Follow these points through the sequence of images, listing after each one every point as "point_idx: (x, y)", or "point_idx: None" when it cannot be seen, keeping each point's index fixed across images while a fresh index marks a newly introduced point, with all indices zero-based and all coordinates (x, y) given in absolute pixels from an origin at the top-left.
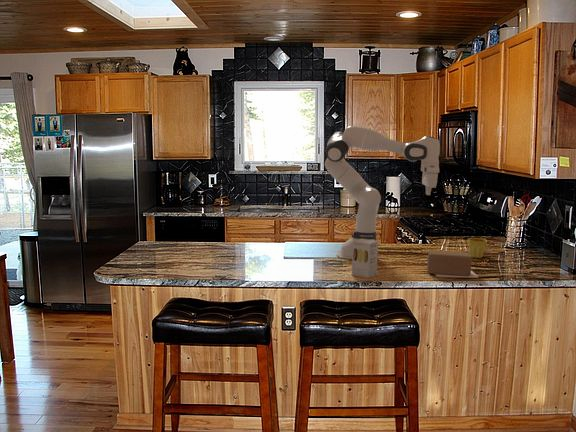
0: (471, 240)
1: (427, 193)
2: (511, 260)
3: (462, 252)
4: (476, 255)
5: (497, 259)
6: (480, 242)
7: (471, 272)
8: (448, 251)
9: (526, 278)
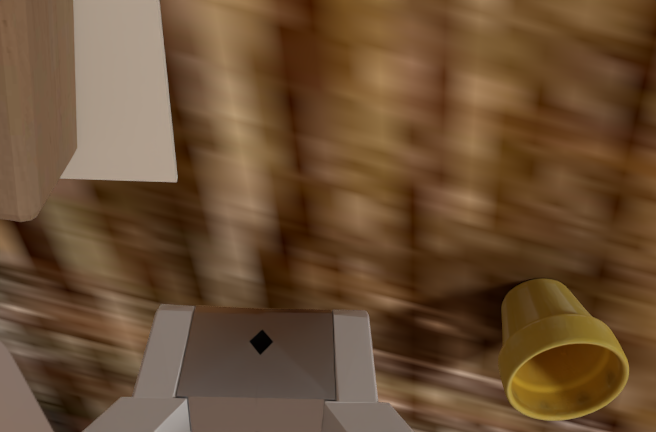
0: (616, 355)
1: (152, 351)
2: (433, 412)
3: (5, 180)
4: (506, 304)
5: (457, 369)
6: (505, 378)
7: (74, 167)
8: (2, 82)
9: (61, 366)
